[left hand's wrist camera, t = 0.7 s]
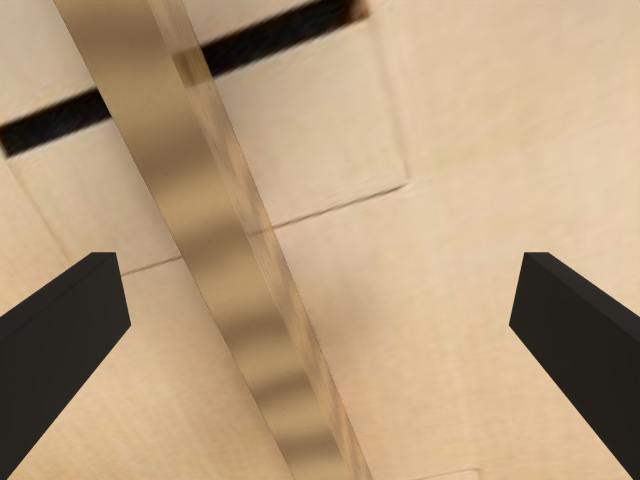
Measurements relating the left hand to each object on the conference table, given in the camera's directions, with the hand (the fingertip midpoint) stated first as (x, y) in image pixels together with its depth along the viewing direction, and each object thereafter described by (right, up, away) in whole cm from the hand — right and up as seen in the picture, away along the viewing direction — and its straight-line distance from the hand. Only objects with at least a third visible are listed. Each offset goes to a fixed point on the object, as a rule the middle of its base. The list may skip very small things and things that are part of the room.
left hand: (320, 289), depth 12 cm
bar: (-5, -2, +24) cm, 25 cm away
